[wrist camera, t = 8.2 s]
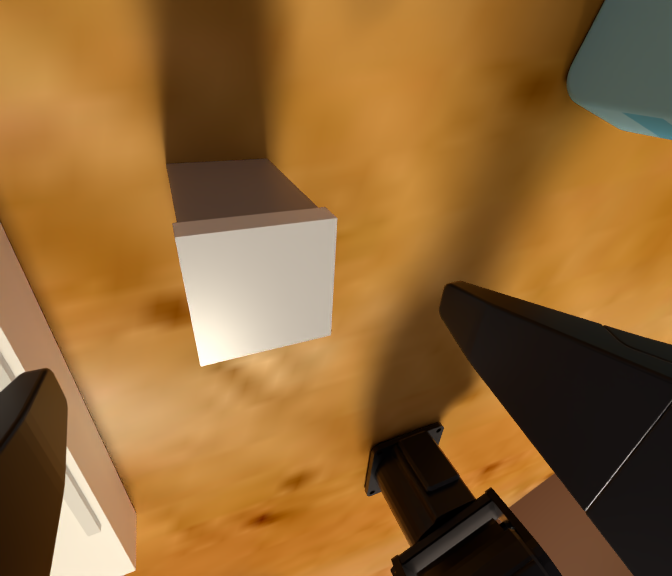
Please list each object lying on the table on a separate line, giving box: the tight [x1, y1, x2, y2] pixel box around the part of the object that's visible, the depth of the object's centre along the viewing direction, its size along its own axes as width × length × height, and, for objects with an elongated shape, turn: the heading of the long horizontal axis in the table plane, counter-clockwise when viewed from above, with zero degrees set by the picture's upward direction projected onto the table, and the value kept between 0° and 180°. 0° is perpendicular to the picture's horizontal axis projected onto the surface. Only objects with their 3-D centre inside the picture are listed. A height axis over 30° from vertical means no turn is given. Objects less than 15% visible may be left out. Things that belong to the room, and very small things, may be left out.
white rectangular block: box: [166, 159, 337, 366], centre depth 12 cm, size 4×4×6 cm
